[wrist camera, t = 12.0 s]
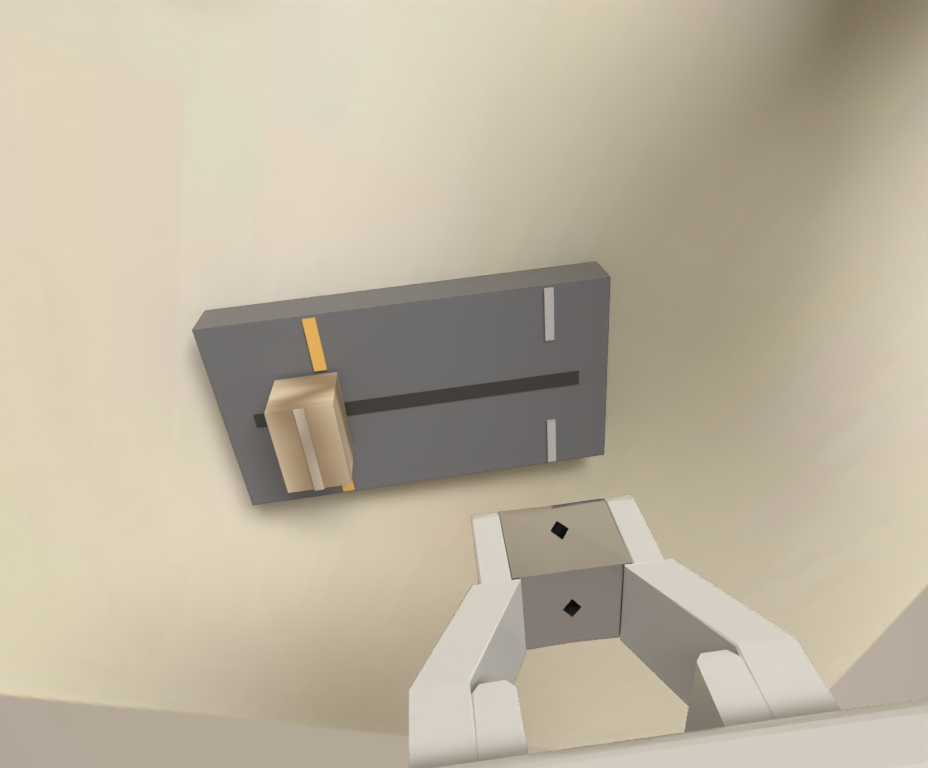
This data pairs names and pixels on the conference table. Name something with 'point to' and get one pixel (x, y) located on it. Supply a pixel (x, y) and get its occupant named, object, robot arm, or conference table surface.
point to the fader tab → (310, 432)
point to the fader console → (424, 374)
